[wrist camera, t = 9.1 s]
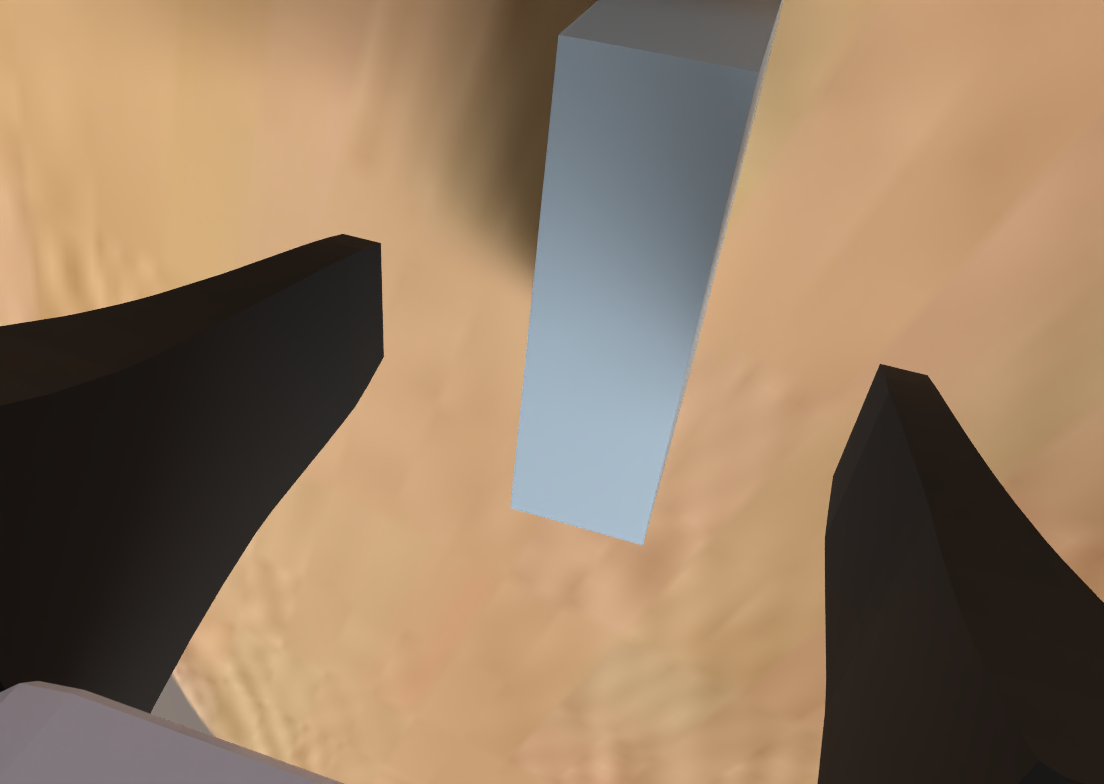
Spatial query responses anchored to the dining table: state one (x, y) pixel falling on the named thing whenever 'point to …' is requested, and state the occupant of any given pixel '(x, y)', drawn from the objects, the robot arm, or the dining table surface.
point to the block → (630, 245)
